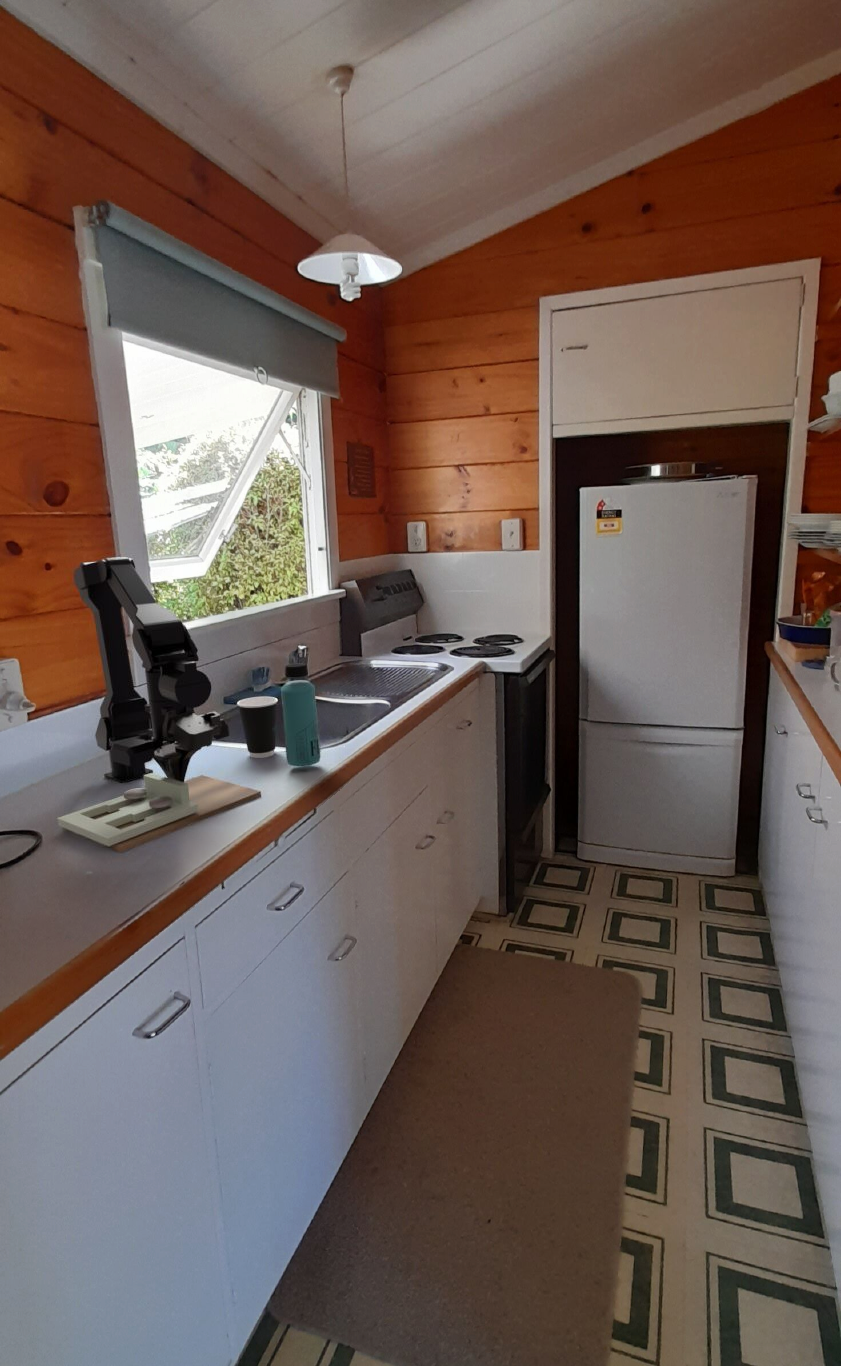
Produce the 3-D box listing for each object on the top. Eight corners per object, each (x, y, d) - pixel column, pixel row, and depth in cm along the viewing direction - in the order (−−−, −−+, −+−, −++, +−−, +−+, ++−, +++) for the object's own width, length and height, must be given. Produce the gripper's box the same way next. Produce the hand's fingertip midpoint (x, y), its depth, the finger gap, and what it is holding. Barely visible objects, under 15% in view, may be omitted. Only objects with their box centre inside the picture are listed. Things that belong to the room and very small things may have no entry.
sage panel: (58, 825, 113) (54, 799, 112) (146, 794, 124) (143, 770, 123) (108, 846, 104) (104, 818, 103) (198, 811, 116) (195, 786, 115)
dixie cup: (289, 753, 148) (285, 700, 146) (255, 763, 143) (250, 708, 140) (268, 746, 154) (263, 694, 151) (234, 755, 148) (229, 702, 146)
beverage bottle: (315, 775, 134) (307, 667, 130) (280, 773, 136) (272, 667, 132) (326, 763, 141) (319, 660, 136) (293, 762, 142) (285, 660, 138)
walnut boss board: (62, 828, 114) (59, 806, 113) (202, 779, 134) (200, 760, 134) (120, 852, 105) (117, 828, 104) (261, 795, 125) (259, 775, 124)
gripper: (145, 717, 106) (158, 819, 109) (246, 690, 120) (255, 781, 124) (102, 708, 112) (115, 805, 116) (203, 684, 127) (212, 770, 130)
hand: (178, 790), depth 121 cm, fingers closed
